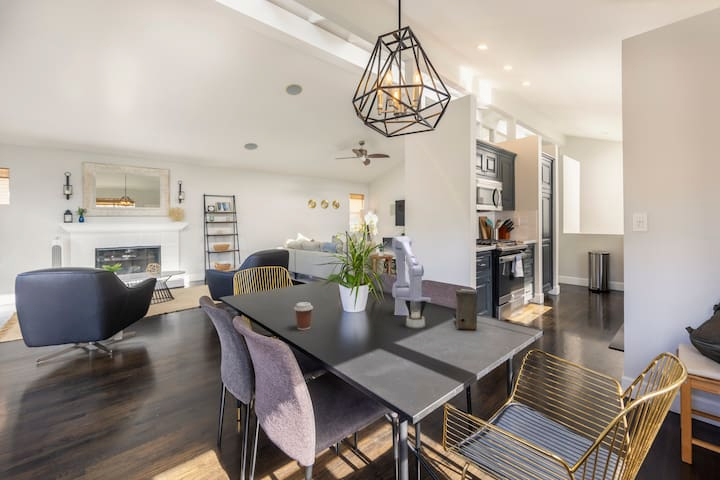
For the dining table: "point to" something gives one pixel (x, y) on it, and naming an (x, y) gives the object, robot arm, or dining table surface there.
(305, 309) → the coffee cup
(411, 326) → the lens barrel
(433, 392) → the dining table surface
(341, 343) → the dining table surface
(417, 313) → the beige short cylinder
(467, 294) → the vintage camera
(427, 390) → the dining table surface
